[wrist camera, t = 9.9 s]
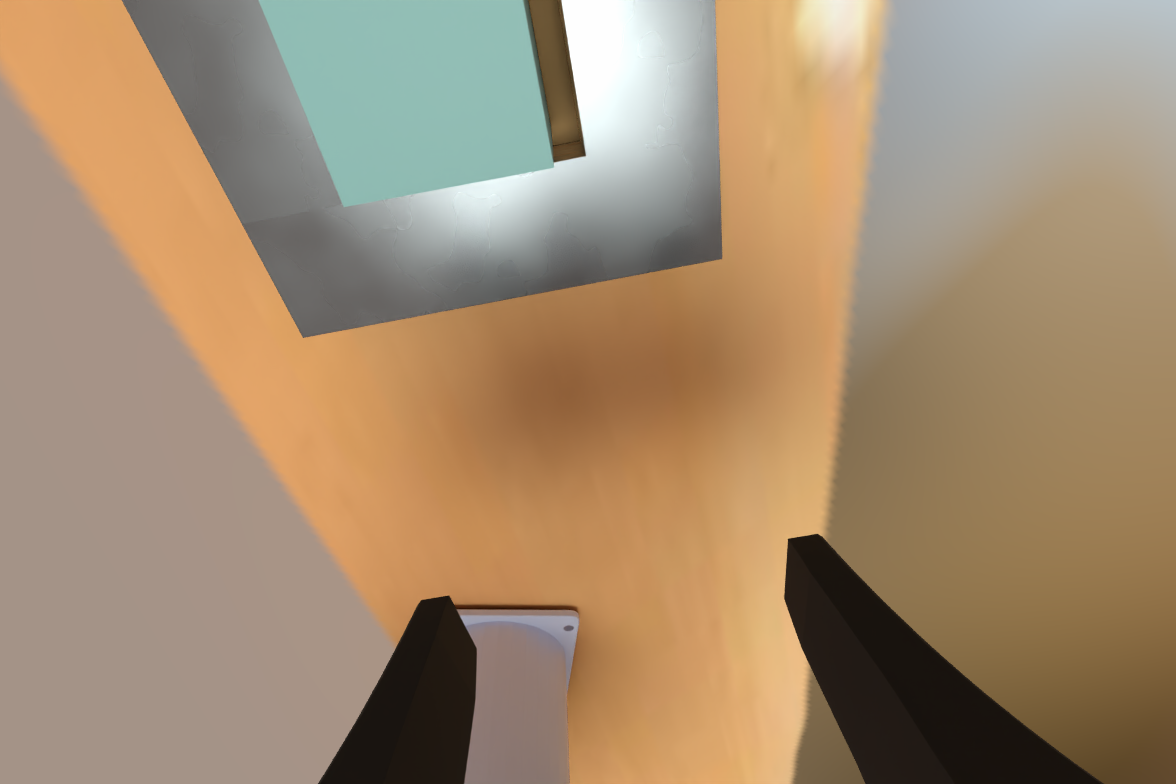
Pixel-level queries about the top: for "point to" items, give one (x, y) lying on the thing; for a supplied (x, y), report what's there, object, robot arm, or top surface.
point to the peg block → (416, 91)
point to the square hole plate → (472, 211)
